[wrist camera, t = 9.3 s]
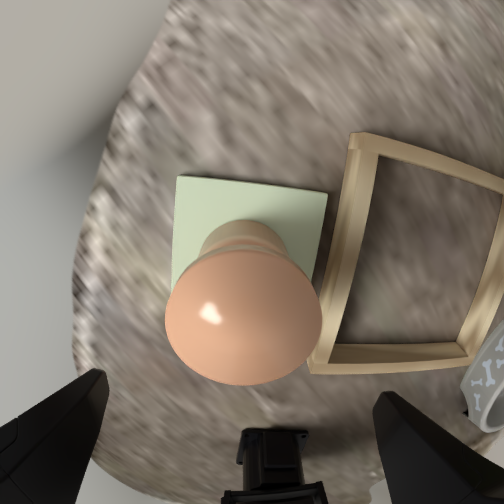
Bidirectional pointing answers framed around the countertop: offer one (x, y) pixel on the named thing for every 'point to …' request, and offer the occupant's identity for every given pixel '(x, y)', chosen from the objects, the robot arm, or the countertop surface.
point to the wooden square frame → (346, 256)
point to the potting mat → (245, 217)
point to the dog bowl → (486, 384)
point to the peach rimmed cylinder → (243, 308)
